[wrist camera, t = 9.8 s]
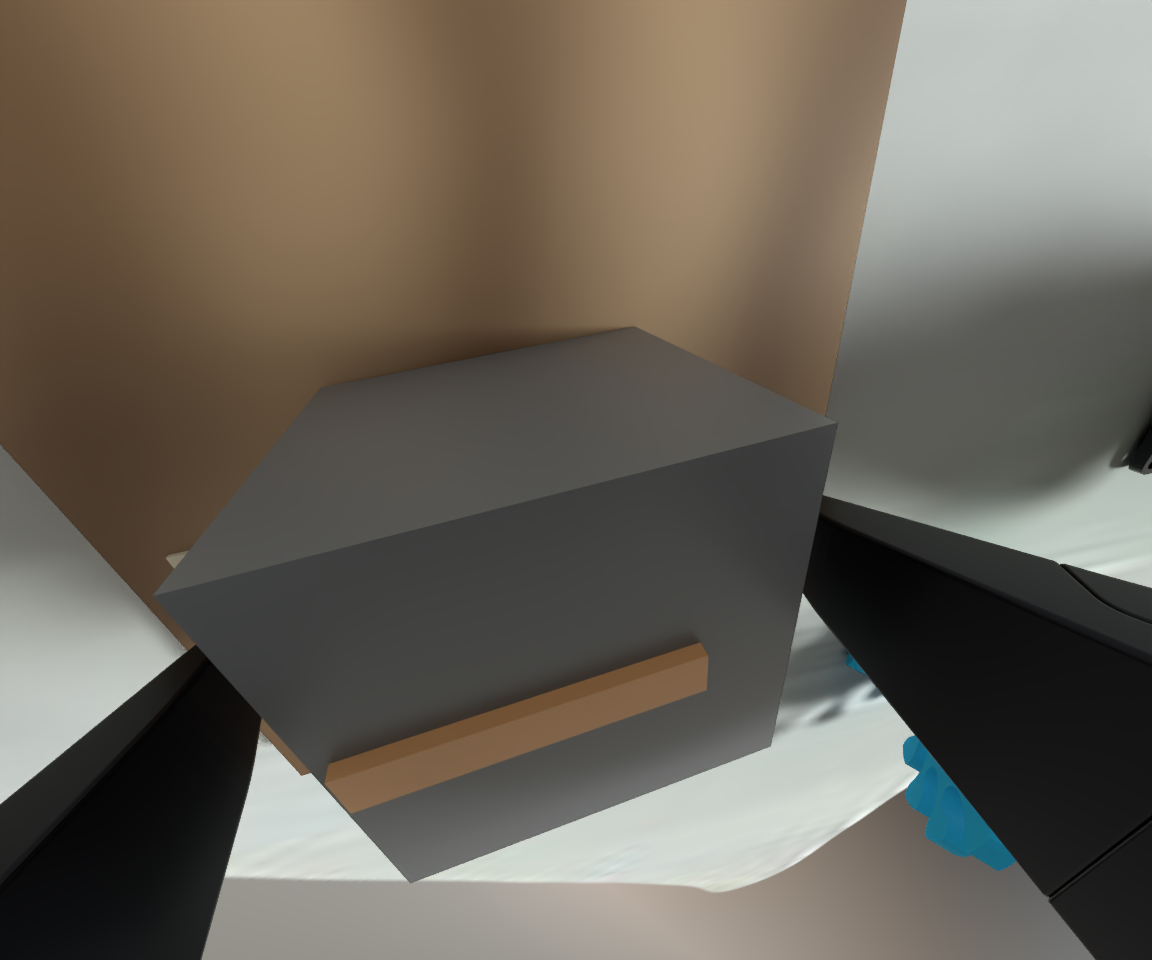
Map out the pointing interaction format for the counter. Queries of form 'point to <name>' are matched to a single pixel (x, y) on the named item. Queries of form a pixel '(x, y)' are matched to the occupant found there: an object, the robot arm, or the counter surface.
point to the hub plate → (398, 215)
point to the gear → (947, 807)
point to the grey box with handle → (514, 585)
